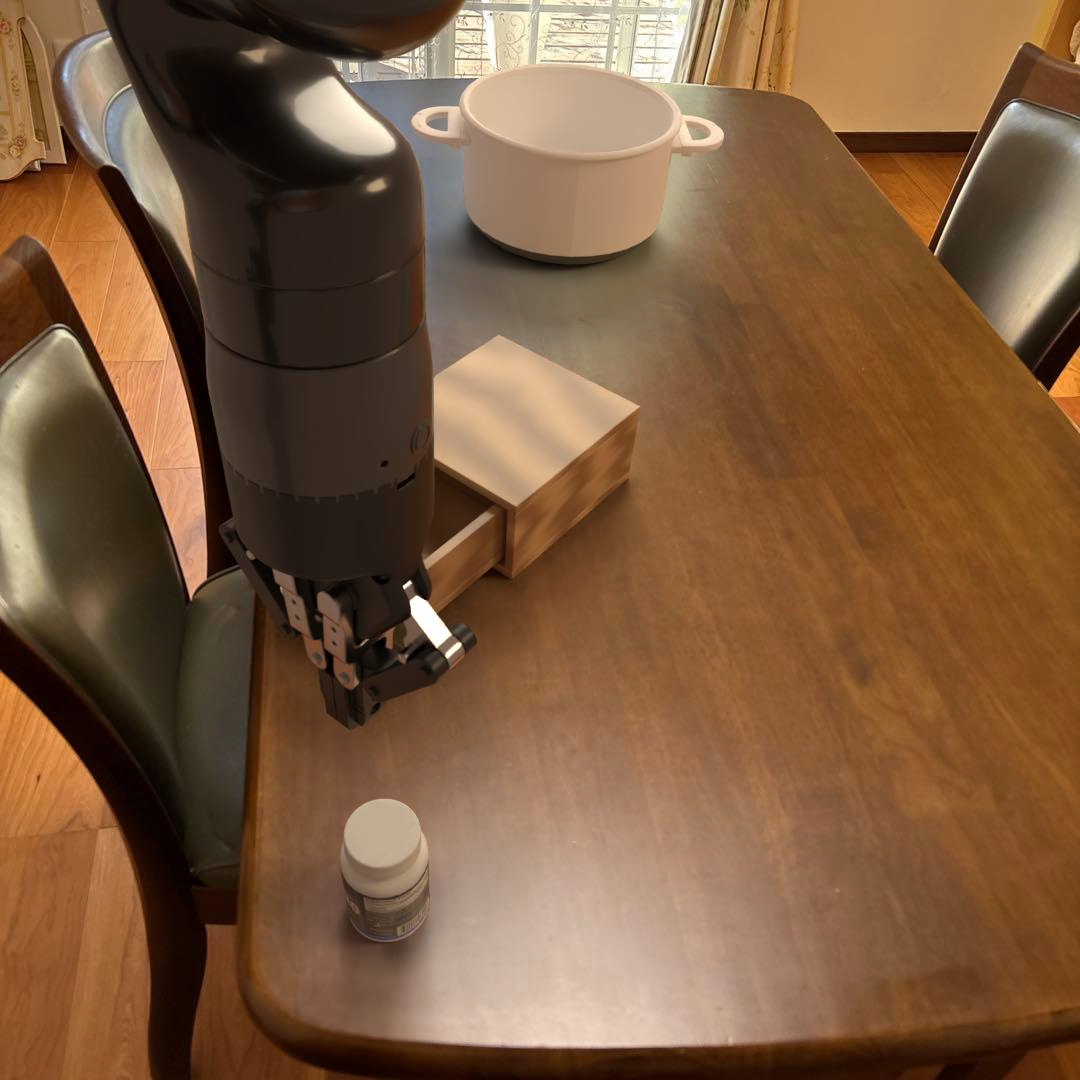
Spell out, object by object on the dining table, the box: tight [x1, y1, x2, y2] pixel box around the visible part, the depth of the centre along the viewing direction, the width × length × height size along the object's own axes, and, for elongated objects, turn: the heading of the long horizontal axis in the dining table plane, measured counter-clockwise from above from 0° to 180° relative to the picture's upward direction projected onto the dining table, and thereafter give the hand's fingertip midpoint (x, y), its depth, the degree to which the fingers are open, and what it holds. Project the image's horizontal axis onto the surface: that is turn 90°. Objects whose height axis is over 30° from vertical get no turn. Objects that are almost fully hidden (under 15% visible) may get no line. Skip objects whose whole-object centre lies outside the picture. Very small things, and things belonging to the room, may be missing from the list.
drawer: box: [246, 466, 508, 648], centre depth 74 cm, size 19×13×6 cm
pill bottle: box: [339, 798, 431, 943], centre depth 56 cm, size 5×5×8 cm
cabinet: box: [434, 334, 641, 581], centre depth 82 cm, size 16×15×8 cm
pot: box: [410, 63, 725, 265], centre depth 111 cm, size 33×23×14 cm
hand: (355, 711), depth 48 cm, fingers closed
